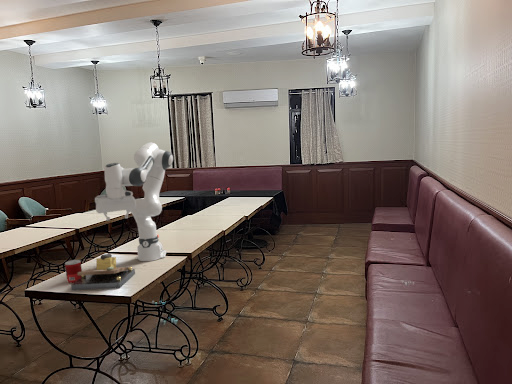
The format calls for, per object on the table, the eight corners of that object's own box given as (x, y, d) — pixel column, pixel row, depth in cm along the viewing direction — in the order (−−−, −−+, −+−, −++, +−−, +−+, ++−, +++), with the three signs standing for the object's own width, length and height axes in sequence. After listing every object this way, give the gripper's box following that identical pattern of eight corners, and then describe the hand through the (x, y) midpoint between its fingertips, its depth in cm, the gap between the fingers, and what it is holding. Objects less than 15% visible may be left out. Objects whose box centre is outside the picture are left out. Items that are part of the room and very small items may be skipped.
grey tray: (91, 275, 230) (90, 267, 229) (135, 273, 228) (134, 265, 228) (71, 290, 208) (70, 281, 208) (119, 288, 206) (118, 278, 206)
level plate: (94, 271, 228) (94, 254, 229) (128, 269, 227) (128, 252, 227) (77, 275, 209) (77, 257, 210) (114, 273, 208) (113, 255, 209)
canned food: (85, 280, 224) (82, 261, 222) (70, 284, 218) (67, 264, 217) (79, 277, 229) (77, 258, 228) (65, 281, 224) (62, 262, 222)
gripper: (95, 196, 204) (98, 222, 205) (135, 192, 214) (137, 217, 216) (93, 195, 209) (95, 221, 210) (132, 191, 220) (134, 216, 221)
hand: (117, 219), depth 213 cm, fingers open, 8 cm apart
